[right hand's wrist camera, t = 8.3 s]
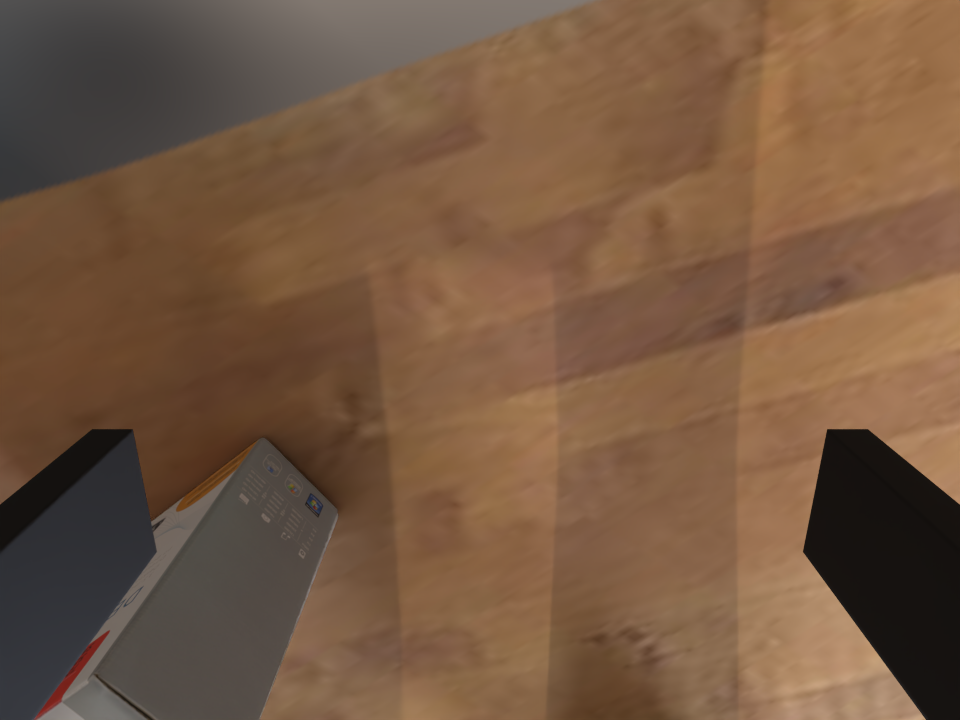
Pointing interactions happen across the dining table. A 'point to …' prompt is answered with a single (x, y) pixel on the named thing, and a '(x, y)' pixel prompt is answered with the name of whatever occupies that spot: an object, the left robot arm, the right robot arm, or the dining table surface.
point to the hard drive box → (208, 601)
